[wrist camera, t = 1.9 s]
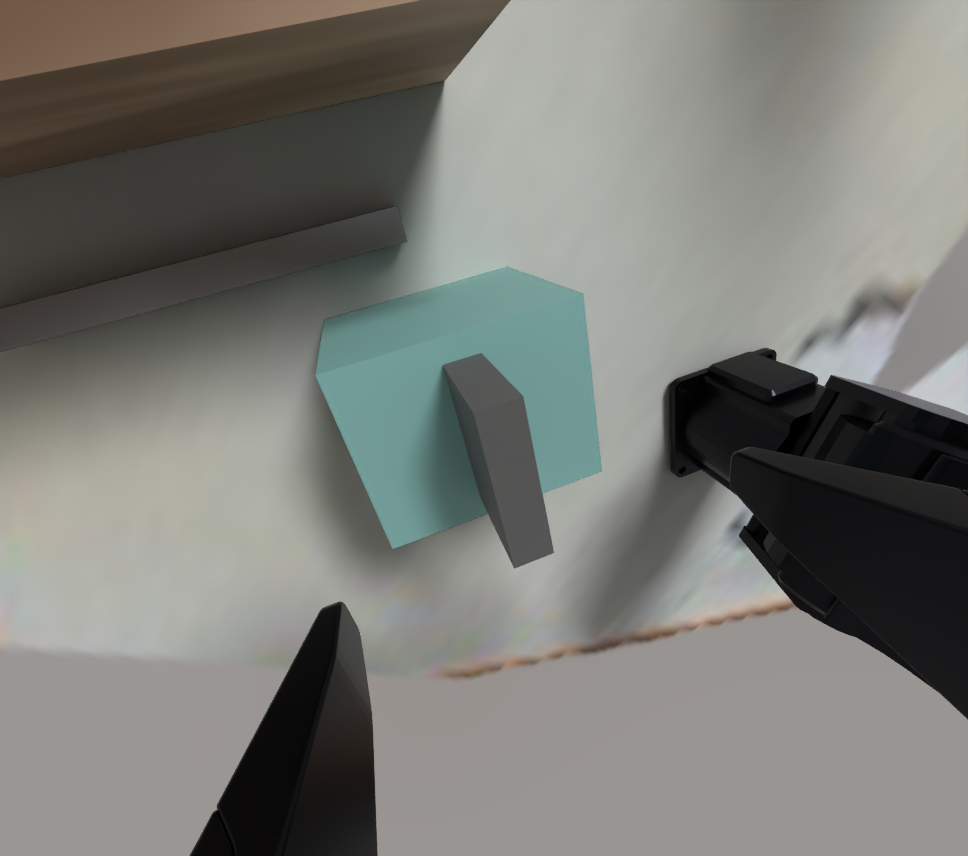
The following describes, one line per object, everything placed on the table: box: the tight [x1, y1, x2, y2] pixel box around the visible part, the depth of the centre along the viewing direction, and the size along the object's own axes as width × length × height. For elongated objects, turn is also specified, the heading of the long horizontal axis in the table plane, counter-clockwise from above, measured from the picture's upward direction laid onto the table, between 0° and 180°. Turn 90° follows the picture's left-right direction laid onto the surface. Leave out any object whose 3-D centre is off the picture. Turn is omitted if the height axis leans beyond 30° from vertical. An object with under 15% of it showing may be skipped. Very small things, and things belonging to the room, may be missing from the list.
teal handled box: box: [315, 267, 602, 568], centre depth 16 cm, size 7×8×10 cm
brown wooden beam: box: [0, 0, 510, 352], centre depth 11 cm, size 7×20×8 cm, turn 103°
